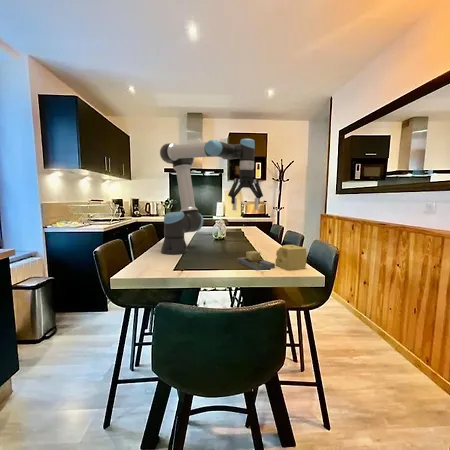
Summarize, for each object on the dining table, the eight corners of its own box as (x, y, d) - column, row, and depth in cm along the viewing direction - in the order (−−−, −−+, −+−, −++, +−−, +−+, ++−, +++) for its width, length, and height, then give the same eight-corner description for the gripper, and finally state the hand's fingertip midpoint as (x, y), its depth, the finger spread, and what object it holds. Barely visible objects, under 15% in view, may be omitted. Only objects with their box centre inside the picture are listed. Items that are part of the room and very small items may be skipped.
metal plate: (236, 261, 142) (237, 257, 142) (253, 259, 146) (253, 255, 146) (257, 270, 126) (257, 265, 126) (274, 267, 131) (274, 263, 130)
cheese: (275, 265, 135) (275, 245, 134) (293, 263, 140) (294, 244, 138) (287, 271, 126) (288, 249, 125) (307, 268, 130) (307, 247, 129)
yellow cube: (246, 263, 139) (246, 251, 138) (254, 262, 141) (254, 250, 140) (251, 265, 134) (251, 253, 134) (260, 264, 137) (260, 252, 136)
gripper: (229, 167, 137) (228, 210, 139) (270, 170, 148) (268, 210, 151) (222, 168, 143) (221, 209, 146) (262, 171, 155) (260, 209, 157)
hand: (245, 210), depth 148 cm, fingers open, 13 cm apart
